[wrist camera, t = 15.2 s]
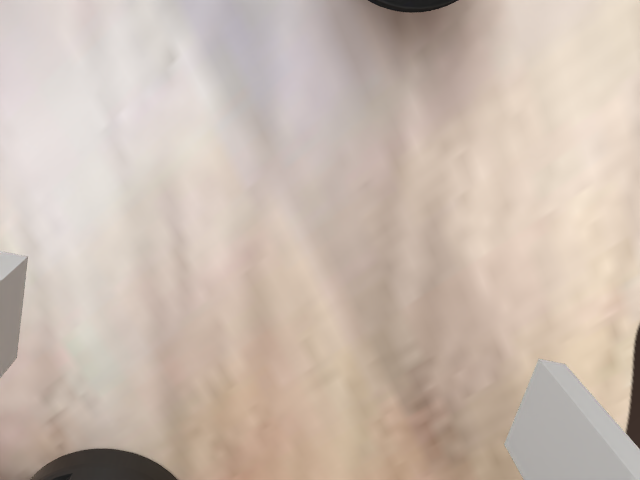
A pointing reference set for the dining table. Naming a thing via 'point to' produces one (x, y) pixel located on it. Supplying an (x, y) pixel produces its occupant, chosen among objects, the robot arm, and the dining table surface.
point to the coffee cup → (412, 4)
